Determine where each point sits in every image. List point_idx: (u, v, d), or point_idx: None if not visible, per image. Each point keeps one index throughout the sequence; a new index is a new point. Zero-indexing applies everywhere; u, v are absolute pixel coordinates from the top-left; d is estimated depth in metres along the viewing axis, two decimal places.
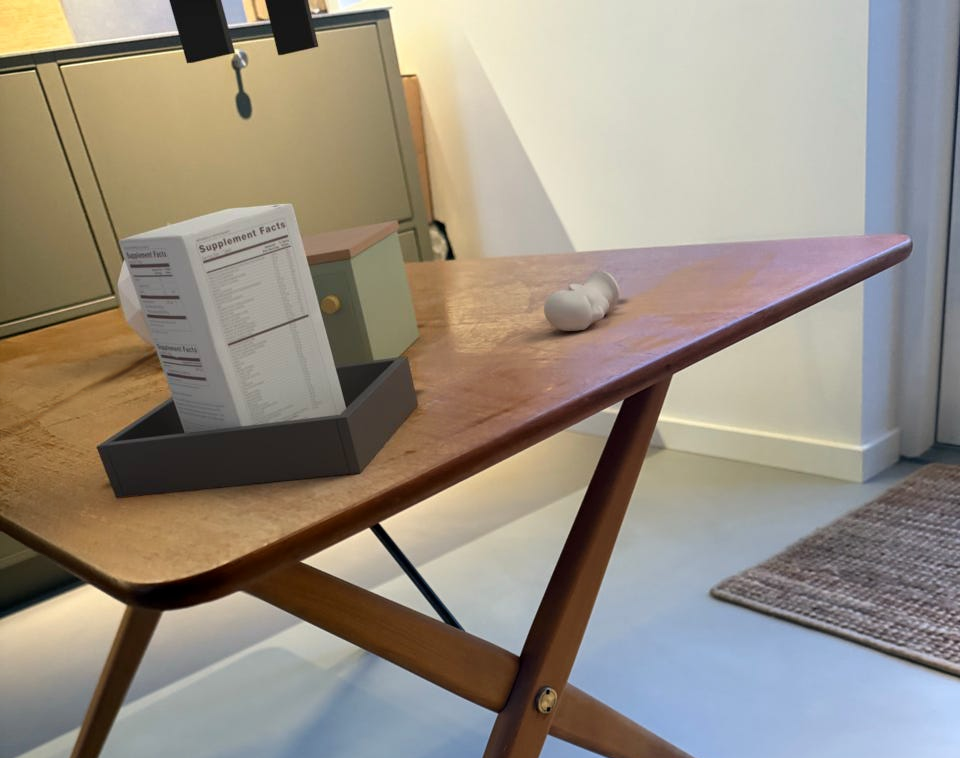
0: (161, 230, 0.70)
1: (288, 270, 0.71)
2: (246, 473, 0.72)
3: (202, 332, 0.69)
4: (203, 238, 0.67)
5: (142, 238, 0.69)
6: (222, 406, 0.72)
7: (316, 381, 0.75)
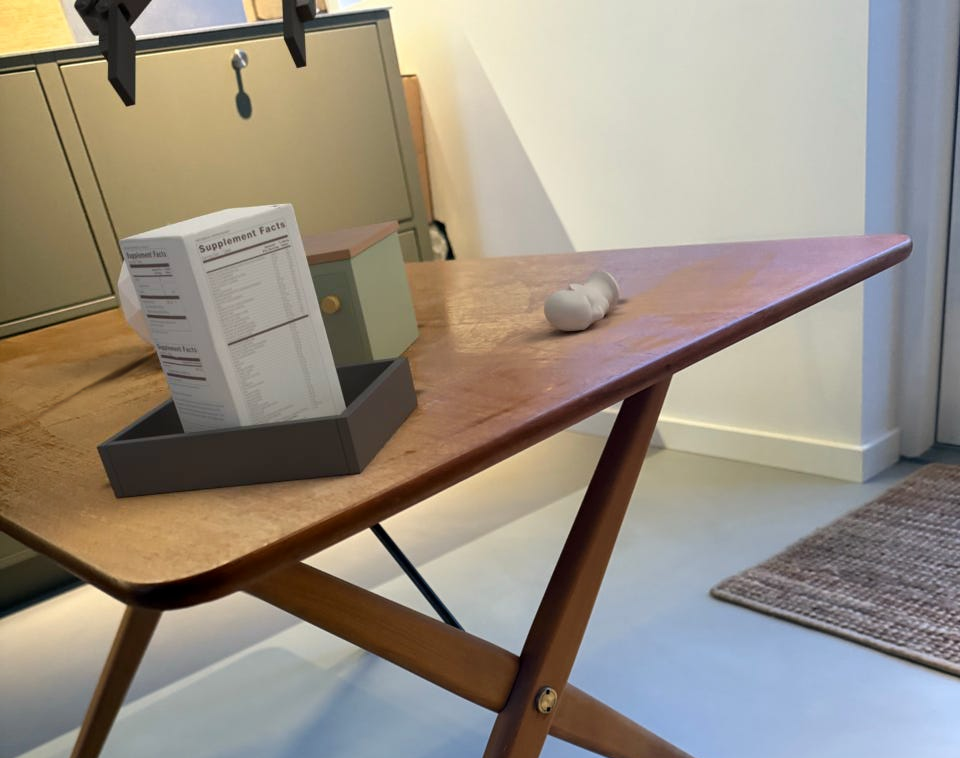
0: (161, 230, 0.70)
1: (288, 270, 0.71)
2: (246, 473, 0.72)
3: (202, 332, 0.69)
4: (203, 238, 0.67)
5: (142, 238, 0.69)
6: (222, 406, 0.72)
7: (316, 381, 0.75)
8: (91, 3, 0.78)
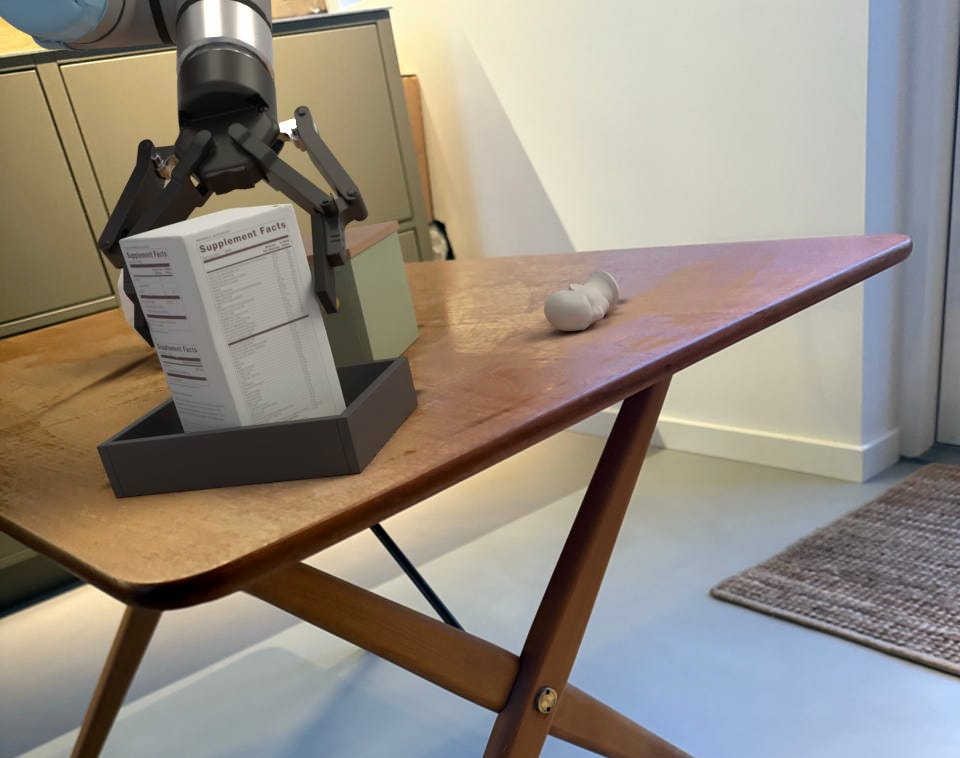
0: (161, 230, 0.70)
1: (289, 270, 0.71)
2: (246, 473, 0.72)
3: (202, 332, 0.69)
4: (203, 238, 0.67)
5: (142, 238, 0.69)
6: (223, 406, 0.72)
7: (316, 381, 0.75)
8: (115, 242, 0.77)
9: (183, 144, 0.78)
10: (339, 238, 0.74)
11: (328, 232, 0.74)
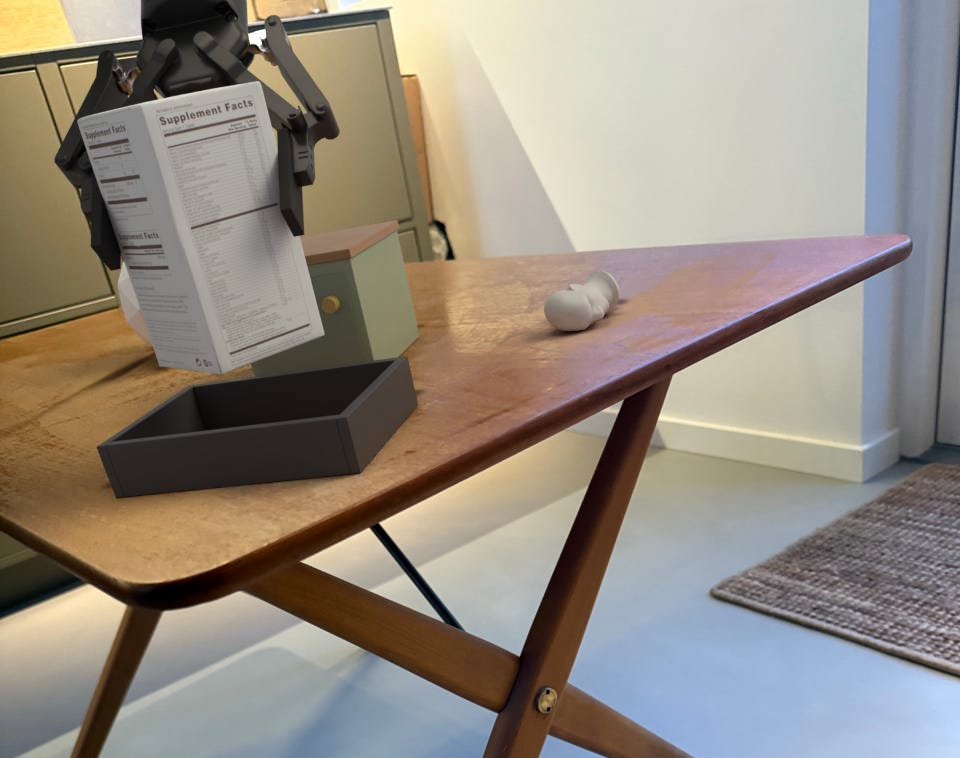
0: None
1: (256, 153, 0.68)
2: (246, 473, 0.72)
3: (163, 214, 0.66)
4: (164, 109, 0.63)
5: (101, 114, 0.66)
6: (186, 296, 0.68)
7: (285, 275, 0.71)
8: (73, 157, 0.72)
9: (146, 55, 0.73)
10: (307, 155, 0.69)
11: (295, 148, 0.70)
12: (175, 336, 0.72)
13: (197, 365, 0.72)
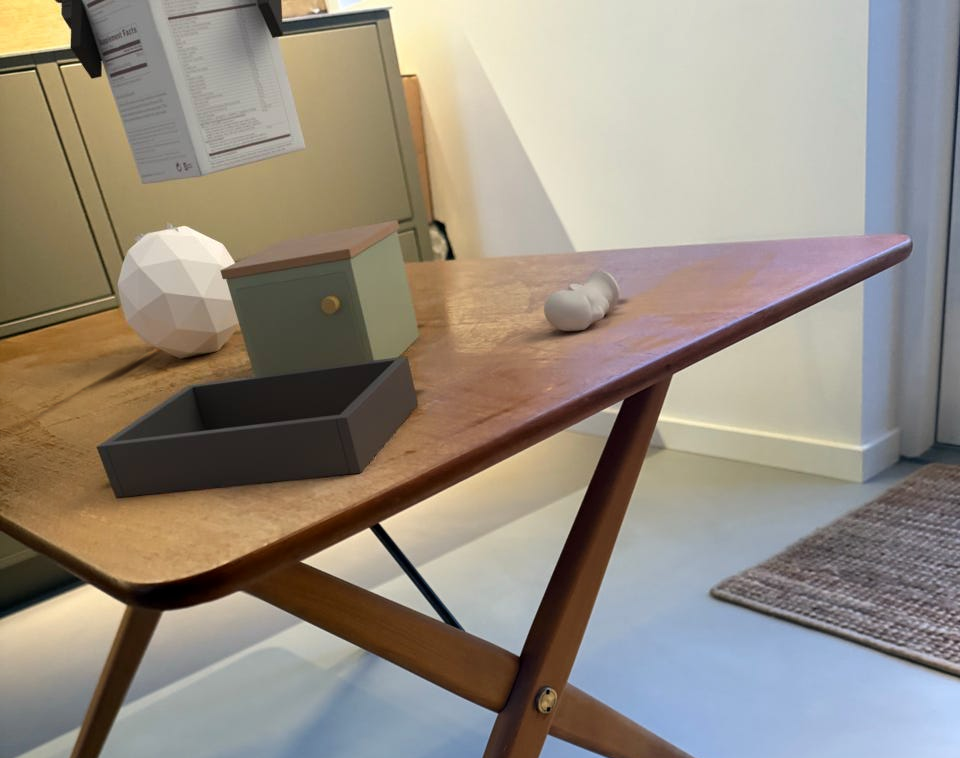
0: None
1: None
2: (246, 473, 0.72)
3: (140, 4, 0.66)
4: None
5: None
6: (164, 93, 0.69)
7: (265, 80, 0.72)
8: None
9: None
10: None
11: None
12: (156, 143, 0.72)
13: (177, 171, 0.72)
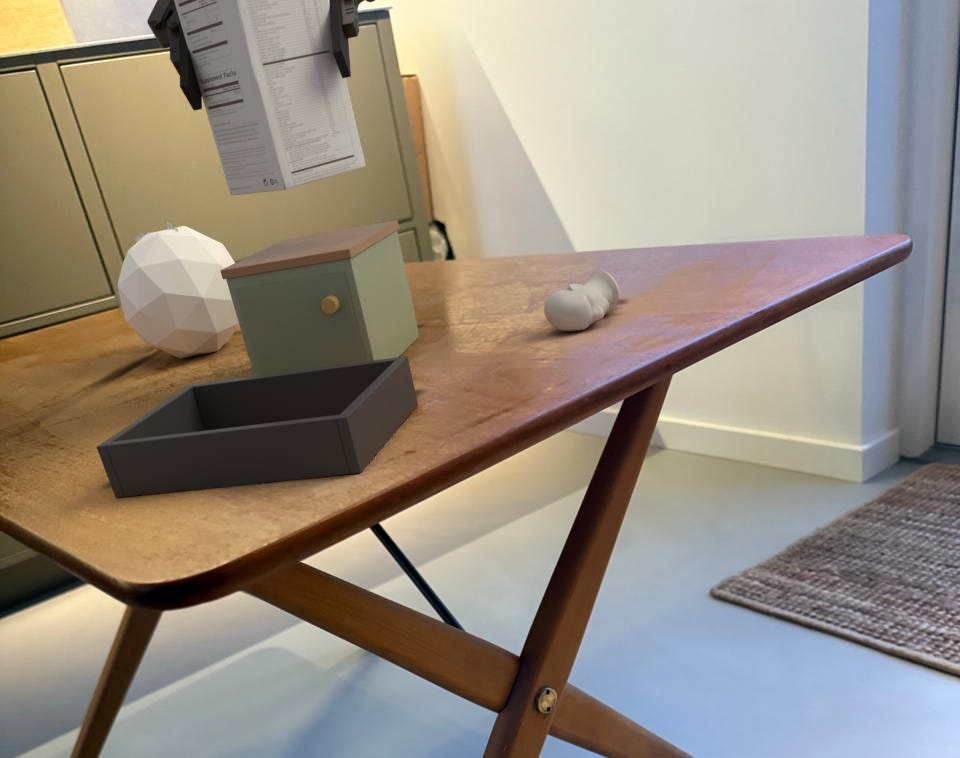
0: None
1: (313, 7, 0.85)
2: (246, 473, 0.72)
3: (241, 53, 0.83)
4: None
5: None
6: (257, 123, 0.85)
7: (335, 111, 0.88)
8: (162, 19, 0.89)
9: None
10: (353, 10, 0.86)
11: (343, 6, 0.86)
12: (246, 162, 0.89)
13: (264, 185, 0.89)
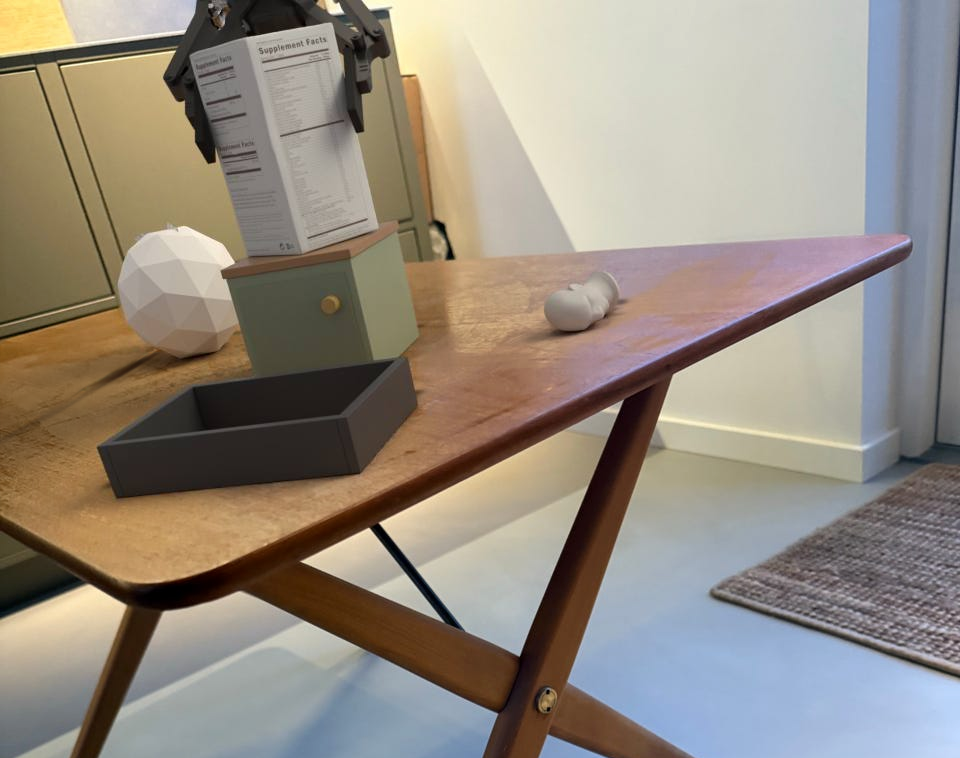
0: None
1: (329, 79, 0.87)
2: (246, 473, 0.72)
3: (259, 125, 0.85)
4: (262, 42, 0.83)
5: (210, 48, 0.85)
6: (274, 191, 0.88)
7: (349, 178, 0.91)
8: (177, 75, 0.91)
9: None
10: (366, 68, 0.88)
11: (357, 63, 0.89)
12: (263, 227, 0.91)
13: (280, 249, 0.91)
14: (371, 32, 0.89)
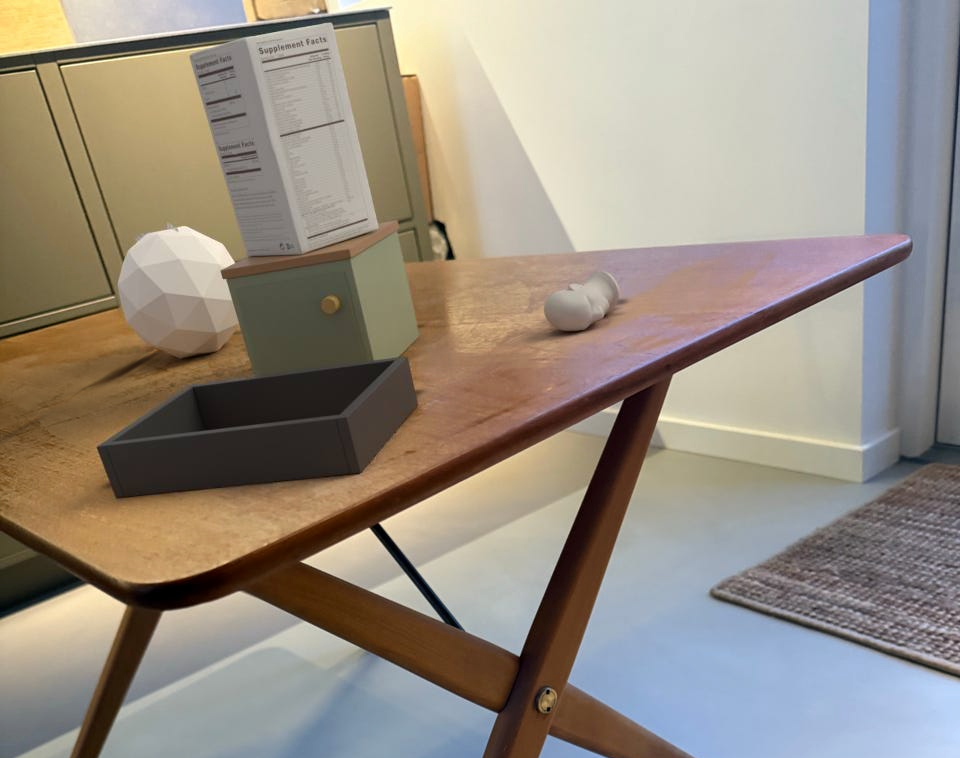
0: None
1: (328, 79, 0.87)
2: (246, 473, 0.72)
3: (259, 125, 0.85)
4: (262, 42, 0.83)
5: (210, 48, 0.85)
6: (274, 191, 0.88)
7: (349, 178, 0.91)
8: None
9: None
10: None
11: None
12: (263, 227, 0.91)
13: (280, 249, 0.91)
14: None
